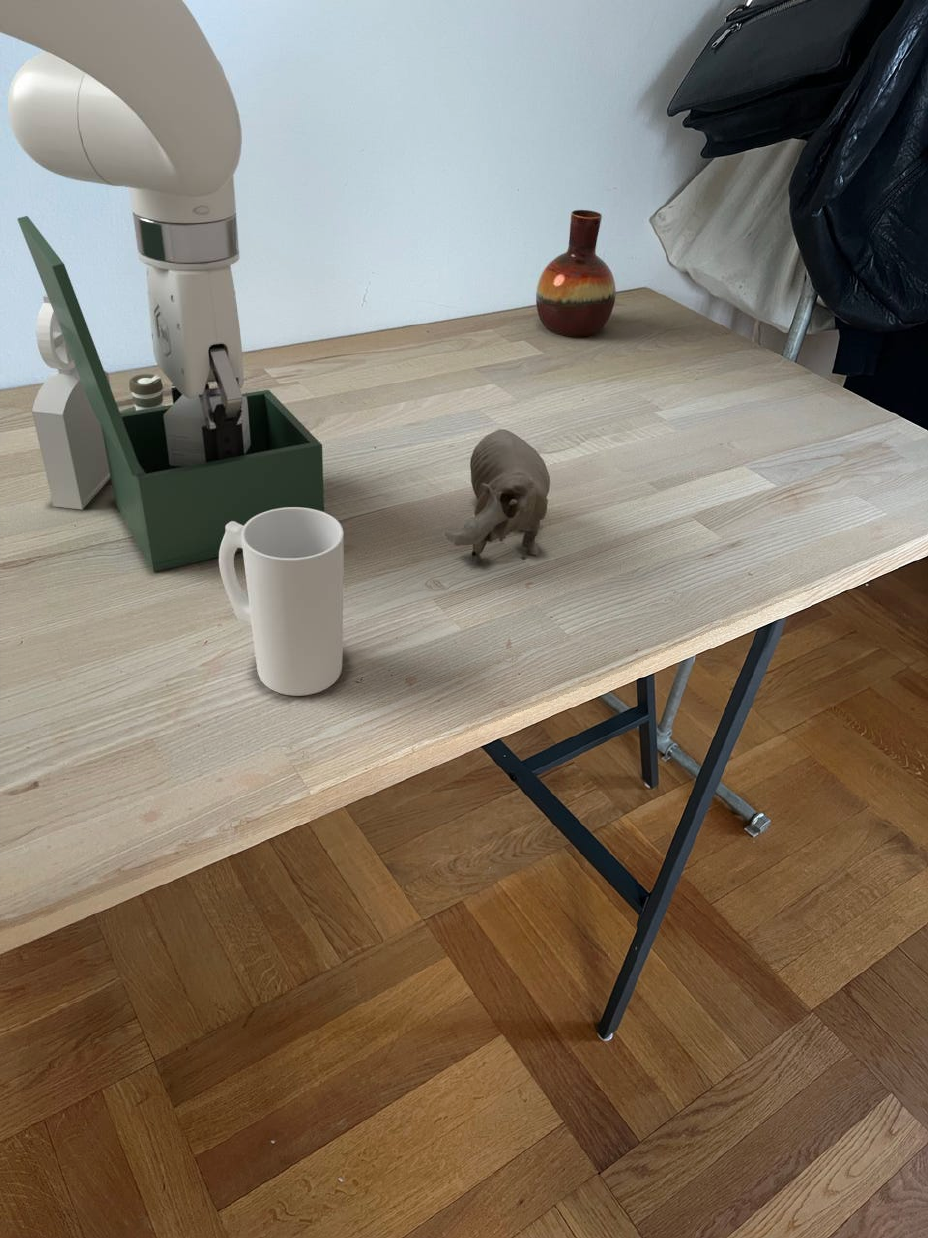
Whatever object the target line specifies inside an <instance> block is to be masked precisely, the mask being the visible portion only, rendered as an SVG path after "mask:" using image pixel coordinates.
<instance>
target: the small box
mask: <svg viewBox="0 0 928 1238" xmlns="http://www.w3.org/2000/svg"><path fill="white" fill-rule="evenodd" d="M220 399H221V396H220V397H214V398H210V402H211V406H212V410H213V412H214V410H215V408H216V405H218V404H221V401H220ZM242 399H243V400H242V404H241V407H242V408H241V410H242V413H241V415H242V421H243V424H242V431H243V443H244V454H245V453H246V452H247V450H248V449H249V447H250V445H251V441H250V429H249V416H248V404H247V397H245V396H242ZM171 405H172V406H171V407H170V408H169V410H168V411H167V412H166V413H165V414H164V415H163V418H164V425H165V432H166V440H167V448H168V457H169V464H170V465H171V466H180V467H185V466H190V465H195V464H201V463H206V460H205V451H204V442H203V433H202V426H206V423H205V419H204V415H203V411H202V407H201V403H200V399H199V395H194V398H187V397H185V396H184V395H183V394H182V395H181V397H180V398H179V399H178V400H177V401H176V402H175V403H174V404H173V403H172V404H171Z"/></svg>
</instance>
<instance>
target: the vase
mask: <svg viewBox="0 0 928 1238" xmlns="http://www.w3.org/2000/svg"><path fill="white" fill-rule="evenodd" d="M602 218H603V216H602V214H601V213H600V212H598V211H595V210H594V211H593V210H588V209H576V210H573V211H571V213H570V224H569V227H570V228H569V237H568V239H569V240H568V246H567V250H566V251H565V252H563V253H561V254H559V255H557V256H555V257H554V258H553V259H552V260H551V261H549V263H548V264H547V265H546V266H545V268H544V269H543V271H542V272H541V274H540V276H539V279H538V281H537V284H536V290H535V293H536V294H535V301H536V302H535V303H536V309H537V310H536V311H537V315H538V317H539V320H540V322H541V323H542V325H543V326H544V327H545V329H546V330H548V331H550V332H552V333H554V334H556V335H560V336H565V337H574V338H575V337H576V338H582V337H583V338H584V337H590V336H593V335H595V334H597V333H598V332H600V331H601V330H602V329H603V328H604V327H605V325H606V324H607V323H608V321H609V319H610V317H611V314H612V311H613V309H614V306H615V301H616V293H617V292H616V291H617V290H616V289H617V287H616V283H615V282H616V281H615V278H614V275H613V273H612V270H611V269H610V268H609V266H608V264H607V262H605V261H604V260H603V259H602V258H601V257H599V256H598V255H597V254H596V253H597V251H596V250H597V241H598V237H599V232H600V227H601V223H602Z"/></svg>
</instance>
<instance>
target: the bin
mask: <svg viewBox="0 0 928 1238" xmlns="http://www.w3.org/2000/svg"><path fill="white" fill-rule="evenodd" d="M242 396H245V397H247V404H248V416H249V429H250V441H251V445H250V447H249V449H248V450H247V452H246V453H245V454H244V455H243V456H237V457H232V458H227V459H222V460H216V461H211V462H206V463H201V464H195V465H190V466H185V467H180V466H171V465H170V464H169V457H168V448H167V440H166V432H165V425H164V418H163V415H164V414H165V413H166V412H167V411H168V410H169V408H170V407H171V406H172V405H173V404H169V405H163V406H162V407H156V408H150V409H144V410H137V411H131V412H125V413H120V415H121V417H122V420H123V423H124V425H125V428H126V431H127V433H128V436H129V439H130V441H131V444H132V447H133V449H134V452H135V455H136V457H137V460H138V463H139V465H140V468H141V471H142V473H140V474H137V475H134V476H132V474H131V473H130V471H129V470H128V468H127V466H126V465H125V463H124V461H123V460H122V458H121V456H120V455H119V453H118V451H117V450H116V448H115V447H114V445H113V443H112V442H111V440H110V438H109V437H108V435H107V433H106V432H105V430H104V428H103V427H102V425H101V427H102V433H103V438H104V444H105V449H106V455H107V460H108V465H109V471H110V476H111V478H110V481H111V486H112V491H113V492H112V493H113V497H114V504H115V505H116V507H117V509H118V510H119V512H120V514H121V516H122V518H123V520H124V521H125V523H126V525H127V527H128V529H129V530H130V532H131V534H132V536H133V537H134V539H135V542H136V544H137V545H138V547H139V549H140V550H141V553H142V554H143V556H144V557H145V559H146V561H147V563H148V564H149V566H150V568H151V570H152V572H153V573H156V572H157V573H158V572H161V571H165V570H169V569H174V568H178V567H182V566H186V565H191V564H194V563H198V562H202V561H203V562H204V561H207V560H212V559H215V558H219V551H220V546H221V543H222V540H223V537H224V535H225V532H226V528H225V527H226V525H227V524H228V523H229V522H231V521H235V522H237V523H238V524H241V525H243V526H244V525H245V524H246V523H247V522H248V521H249V520H250V519H251V518H253V517H254V516H256V515H258V514H261V513H263V512H266V511H269V510H273V509H278V508H287V507H302V508H310V509H315V510H319V511H322V512H324V513H325V499H324V498H325V496H324V494H325V493H324V464H323V463H324V462H323V460H324V459H323V458H324V457H323V444H322V443H321V442H320V441H319V440H318V439H317V438H316V436H314V435H313V433H312V432H310V431H309V429H308V428H307V427H305V425H303V423H302V422H301V421H300V420H299V419H298V418H297V417H296V416H295V415H294V414H293V413H292V412H291V411H290V410H289V409H288V408H287V407H286V406H285V405H284V404H283V403H282V402H281V401H280V400H279V398H277V396H276V395H274V393H273V392H272V391H271V390H270V389H263V390H257V391H250V392H245V393H242ZM240 552H243V549H242V548H237V550H236V552H235V554H237V553H240Z"/></svg>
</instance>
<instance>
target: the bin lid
mask: <svg viewBox="0 0 928 1238" xmlns="http://www.w3.org/2000/svg"><path fill="white" fill-rule="evenodd" d="M17 222H18V225H19V227H20V230H21V232H22V235H23V238H24V240H25V242H26V245H27V248H28V250H29V253H30V255H31V258H32V260H33V263H34V265H35V268H36V271H37V273H38V275H39V278H40V281H41V283H42V285H43V288H44V290H45V293H46V294H47V296H48V298H49V301H50V303H51V306H52V308H53V311H54V313H55V316H56V318H57V321H58V323H59V326H60V328H61V331H62V333H63V336H64V339H65V341H66V344H67V346H68V349H69V351H70V354H71V356H72V359H73V361H74V364H75V366H76V369H77V371H78V374H79V376H80V379H81V381H82V384H83V387H84V389H85V392H86V394H87V397H88V399H89V402H90V404H91V407H92V409H93V412H94V414H95V415H96V417H97V419H98V420H99V422H100V424H101V425H102V427H103V428H104V430H105V432H106V433H107V435H108V437H109V438H110V440H111V442H112V443H113V445H114V447H115V448H116V450H117V451H118V453H119V455H120V456H121V458H122V460H123V461H124V463H125V465H126V466H127V468H128V470H129V471H130V473H131V474H132V476H134V475H137V474H140V473H142V471H141V468H140V465H139V463H138V460H137V457H136V455H135V452H134V449H133V447H132V444H131V441H130V439H129V436H128V433H127V431H126V428H125V425H124V423H123V420H122V417H121V415H120V412H121V411H120V410H119V407H118V404H117V402H116V399H115V396H114V393H113V391H112V387H111V388H110V386H111V384H110V385H109V382H108V380H107V377H106V374H105V372H104V371H105V369H104V366H103V364H102V361H101V359H100V356H99V353H98V351H97V348H96V345H95V343H94V340H93V337H92V335H91V332H90V329H89V327H88V324H87V321H86V319H85V316H84V314H83V313H84V312H83V310H82V308H81V305H80V303H79V299H78V297H77V295H76V292H75V289H74V286H73V283H72V282H71V279H70V276H69V273H68V270H67V268H66V265H65V263H64V262H63V261H62V259H61V258H60V257H59V255H58V254H57V253H56V251H55V250H54V249H53V247H52V246H51V245H50V243H49V242H48V241H47V240H46V238H45V237H44V235H43V234H42V233H41V232H40V230H39V229H38V228H37V226H36V225H35V224H34V222H33V221H32V220H31V218H30V217H29V216H28V215H25V216H20V217H18V218H17Z"/></svg>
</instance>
